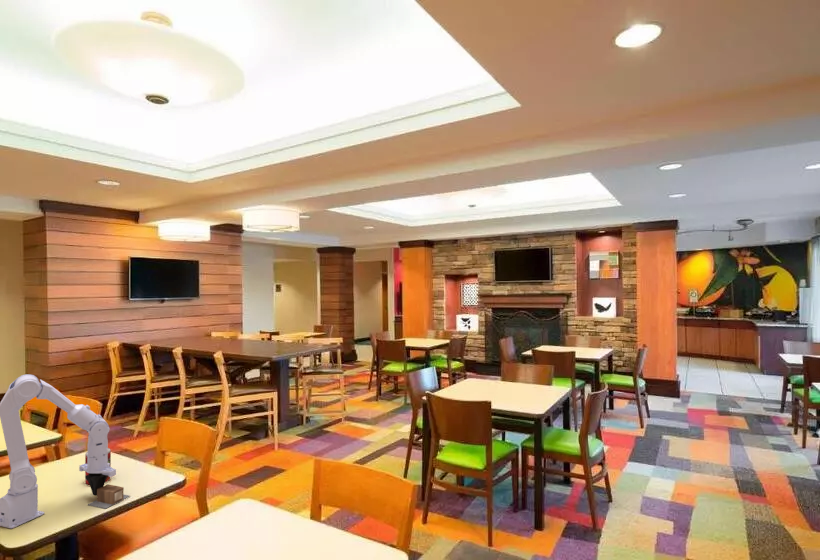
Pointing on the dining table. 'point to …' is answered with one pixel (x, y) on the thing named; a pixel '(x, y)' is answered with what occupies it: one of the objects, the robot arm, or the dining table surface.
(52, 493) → the dining table surface
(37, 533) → the dining table surface
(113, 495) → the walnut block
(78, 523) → the dining table surface
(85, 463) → the canned food
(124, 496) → the felt mat
